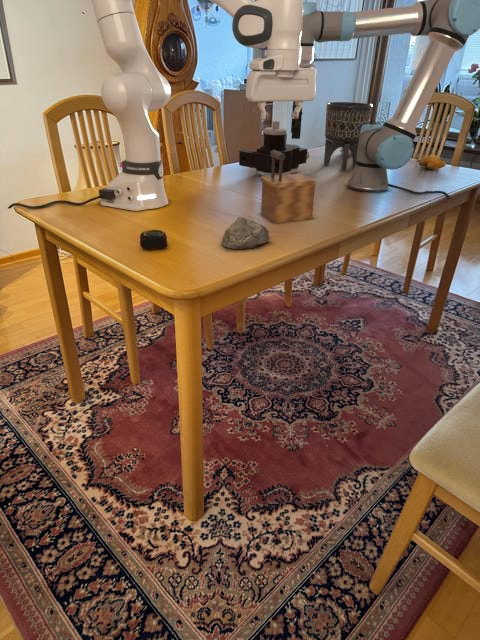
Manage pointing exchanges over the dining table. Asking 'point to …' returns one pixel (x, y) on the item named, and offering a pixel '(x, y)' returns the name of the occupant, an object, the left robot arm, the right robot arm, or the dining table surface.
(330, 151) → the planter
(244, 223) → the rock
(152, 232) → the tape measure
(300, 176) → the lid
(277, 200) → the chest
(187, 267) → the dining table surface
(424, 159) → the toy
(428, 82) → the right robot arm
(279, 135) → the mechanical component
